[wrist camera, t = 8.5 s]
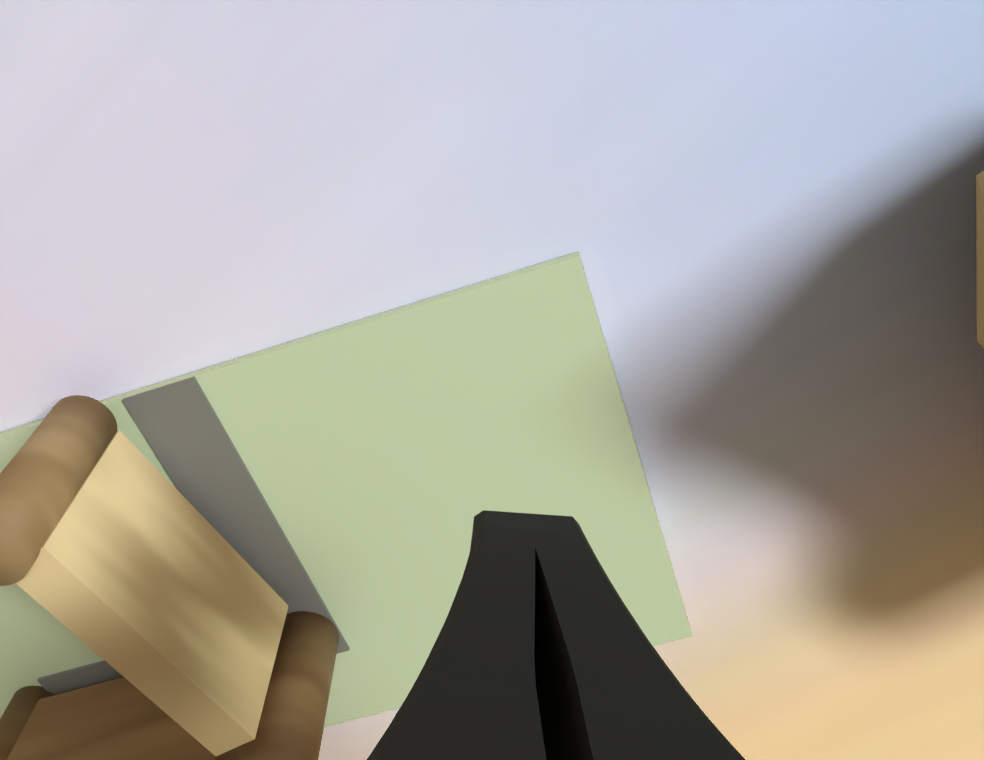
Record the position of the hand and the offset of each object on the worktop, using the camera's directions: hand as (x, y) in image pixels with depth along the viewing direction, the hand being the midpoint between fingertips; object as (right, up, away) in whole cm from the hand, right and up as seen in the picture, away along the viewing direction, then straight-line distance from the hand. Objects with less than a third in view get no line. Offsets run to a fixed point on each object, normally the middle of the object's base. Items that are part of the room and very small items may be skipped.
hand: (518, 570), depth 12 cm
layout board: (-7, -3, +13) cm, 15 cm away
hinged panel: (-9, -1, +11) cm, 14 cm away
